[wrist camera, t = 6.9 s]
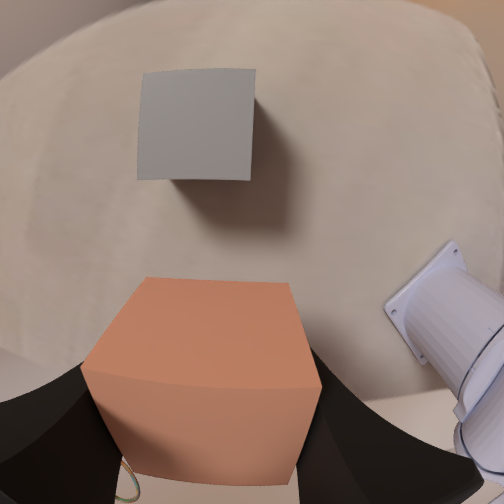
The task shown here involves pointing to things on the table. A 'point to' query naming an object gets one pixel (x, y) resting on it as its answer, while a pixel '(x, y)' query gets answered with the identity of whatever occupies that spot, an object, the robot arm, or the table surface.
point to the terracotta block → (207, 381)
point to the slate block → (196, 124)
